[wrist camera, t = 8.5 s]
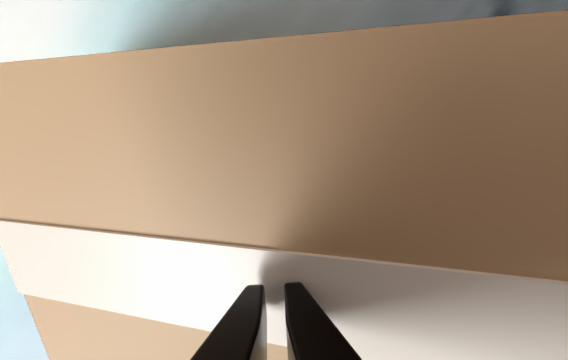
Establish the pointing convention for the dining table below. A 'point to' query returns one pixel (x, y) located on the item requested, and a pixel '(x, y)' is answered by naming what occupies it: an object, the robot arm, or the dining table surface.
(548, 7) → the dining table surface
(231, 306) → the robot arm
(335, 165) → the carton lid
